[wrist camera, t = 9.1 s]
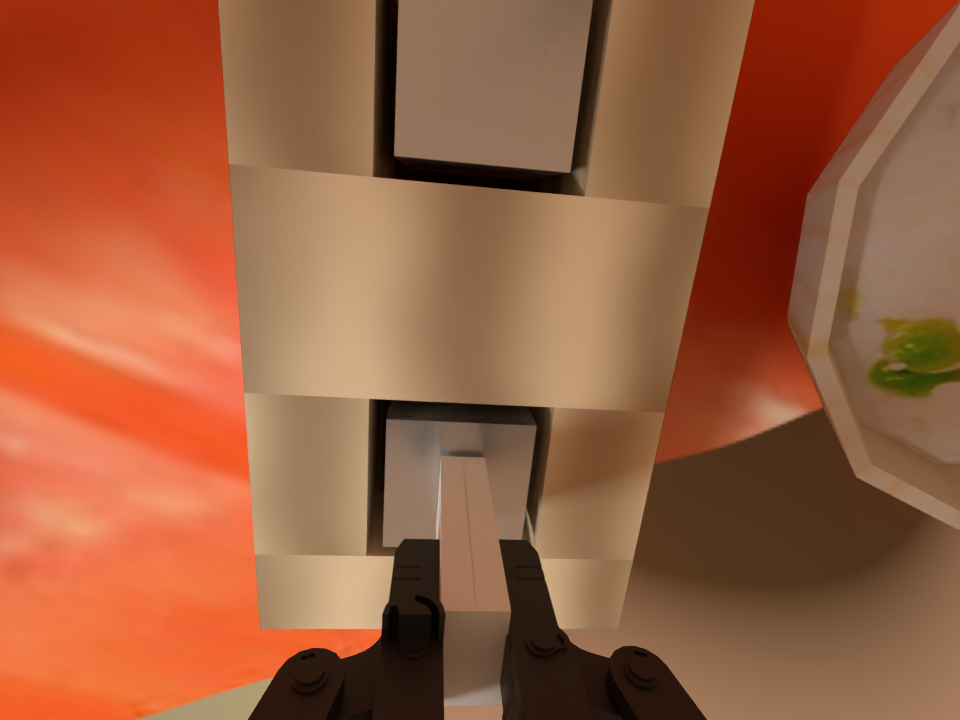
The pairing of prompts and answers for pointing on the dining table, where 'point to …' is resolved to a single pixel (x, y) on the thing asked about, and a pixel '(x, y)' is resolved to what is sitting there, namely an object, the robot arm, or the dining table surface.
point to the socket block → (460, 290)
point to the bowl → (891, 281)
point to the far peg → (461, 433)
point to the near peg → (489, 85)
